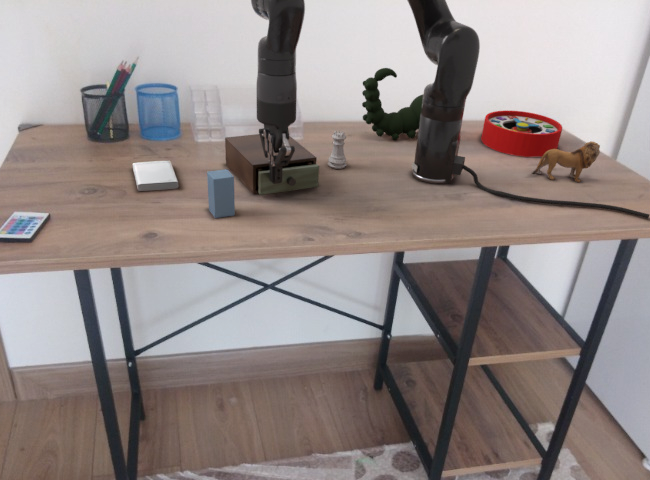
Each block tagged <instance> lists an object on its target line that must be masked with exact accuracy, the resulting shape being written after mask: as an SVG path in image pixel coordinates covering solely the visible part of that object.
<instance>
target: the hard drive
mask: <svg viewBox="0 0 650 480" xmlns="http://www.w3.org/2000/svg"><path fill="white" fill-rule="evenodd" d="M132 170H133V174H134V175H133V176H134V179H135V184H136V187H137V191H138V192H147V191H149V192H150V191H162V190H163V191H164V190H176V189H178V188H179V181H178V178H177V175H176V173H175V170H174V167H173V165H172V162H171V161H170V160H155V161H154V160H153V161H140V162H138V161H137V162H133V163H132Z"/></svg>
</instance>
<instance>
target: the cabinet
mask: <svg viewBox="0 0 650 480" xmlns="http://www.w3.org/2000/svg"><path fill="white" fill-rule="evenodd" d="M224 141H225V142H224V148H225V165H226V167H228V168H229V170H230V171H231V172H232V174H234V175H235V176H236V177H237V178H238V179H239V181H240V182H241V183H242V184H243V185H244V186H245V187H246V188H247V189H248V190H249V191H250V193H251V194H253V195H255V194H259V193H258V187H257V186H256V168H259V167H267V166H270V164H269V163H268V158H265V156H264V151H263V147H262V143H261V139H260V135H259V133H257V134H248V135H247V134H246V135H237V136H226V137H224ZM288 143H289V145H290V146H294V148H295V152H294V154H293V156H292V158H291V160H290V162H289V164H291V163H299V162H307V161H310V162H311V163H312V165H313V164H317V156H316V155H314V154H313V153H312V152H311V151H310V150H308V149H307V148H306V147H305V146H303V145H302V144H300V143H299V141H297V140H295V138H293V136H291V135H289V141H288Z"/></svg>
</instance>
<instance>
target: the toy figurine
mask: <svg viewBox="0 0 650 480" xmlns="http://www.w3.org/2000/svg"><path fill="white" fill-rule="evenodd" d="M390 76H391V77H393V78H395V79H397V77H398V74H397V72H396V71H395V70H394V69H392V68H391V67H381V68H380V69H378V70H376V72H375V73H374V76H373V77H368V78H366V79H365V80H363V81H362V86H363V87H364V90H362V91H361V93H362V97H364V99H365V101H363V102H362V103H361V106H362V107H363V108H364V109H365V110H366V113H364V114H363V115H362V120H363V121H364V122H365V124H366V125H372V126H371V130H372V131H373V132H375V135H377V137H383V136H384V135H387V136H388V137H391V140H393V141H398V140H399V139H400V136H401V135H402V134H404V135H406V137H407V138H408V139H415V137H417V132H416V131H417V130H418V131H419V123H420V116H421V108H422V101H423V94H424V93H422V94H420V95H418V96H416V97H415V98H413V100H412V101H411V103H410V105H409V106H405V107H402V108H400V109H399V110H398V111H397V112H396V111H392V112H385V110H384V108H383V107H382V104H383V103H382V101H381V99H380V97H381V92H380V89H379V88H378V87H379V82H381V81H383V80H385V79H386V78H387V77H390Z"/></svg>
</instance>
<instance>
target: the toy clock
mask: <svg viewBox="0 0 650 480" xmlns="http://www.w3.org/2000/svg"><path fill="white" fill-rule="evenodd" d="M562 131H563V126H562V124H561V123H560V122H558V121H557V120H555V119H553V118H551V117H548V116H545V115H542V114H539V113H534V112H529V111H523V110H522V111H521V110H495V111H491V112H489V113H487V114H486V115H485V117H484V122H483V127H482V132H481V137H480V140H481V142H482V144H483V145H484V146H486V147H487V148H489V149H492V150H494V151H496V152H499V153H503V154H507V155H511V156H517V157H524V158H542V156H543V155H544V154H545V153H546V152H547V151H548V150H551V149H558V147H559V143H560V139H561V135H562Z"/></svg>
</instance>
